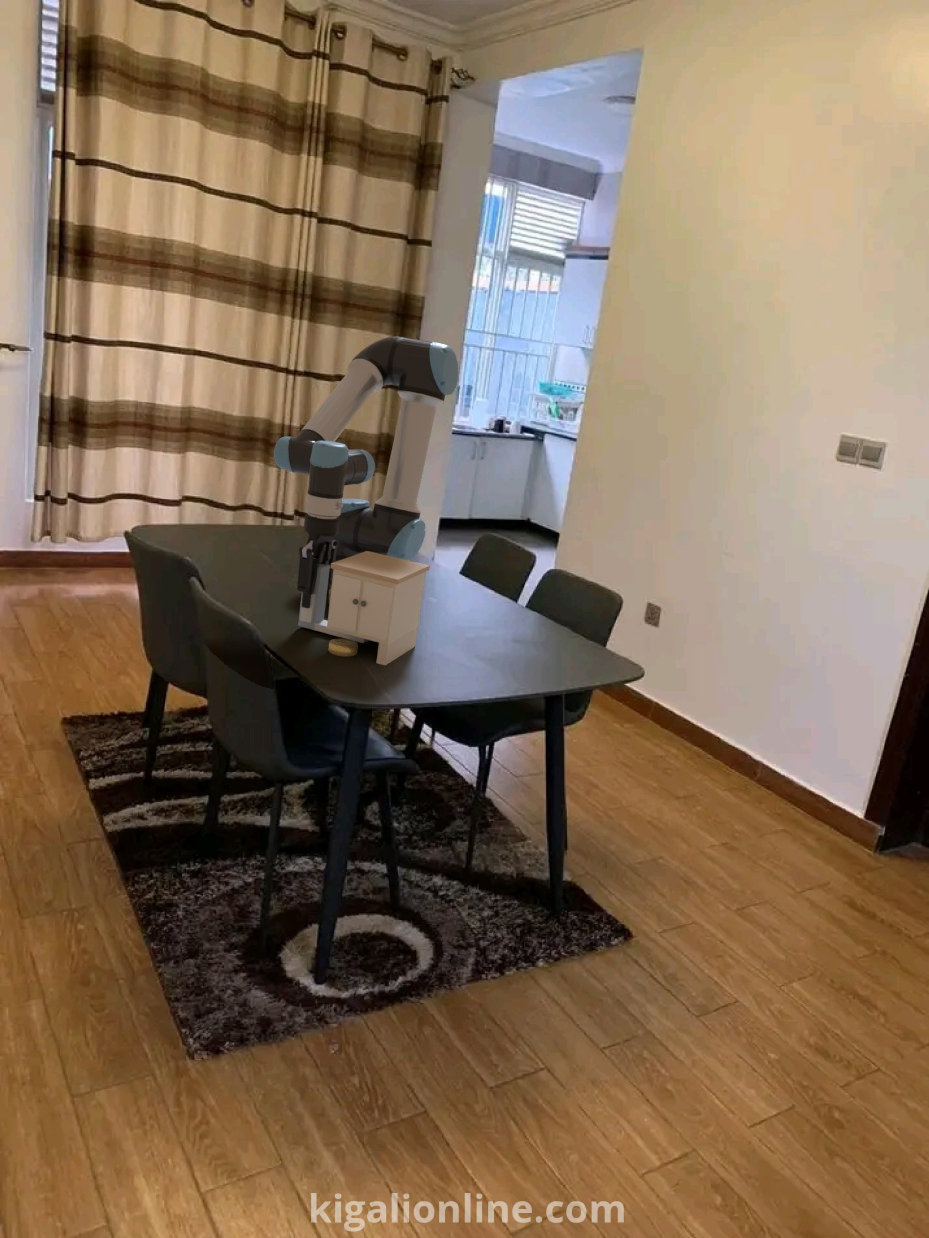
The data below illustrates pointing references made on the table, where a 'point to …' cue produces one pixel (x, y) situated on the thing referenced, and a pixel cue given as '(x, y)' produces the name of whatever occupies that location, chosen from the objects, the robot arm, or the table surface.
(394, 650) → the cabinet
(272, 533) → the table surface
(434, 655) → the table surface
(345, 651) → the token
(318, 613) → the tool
